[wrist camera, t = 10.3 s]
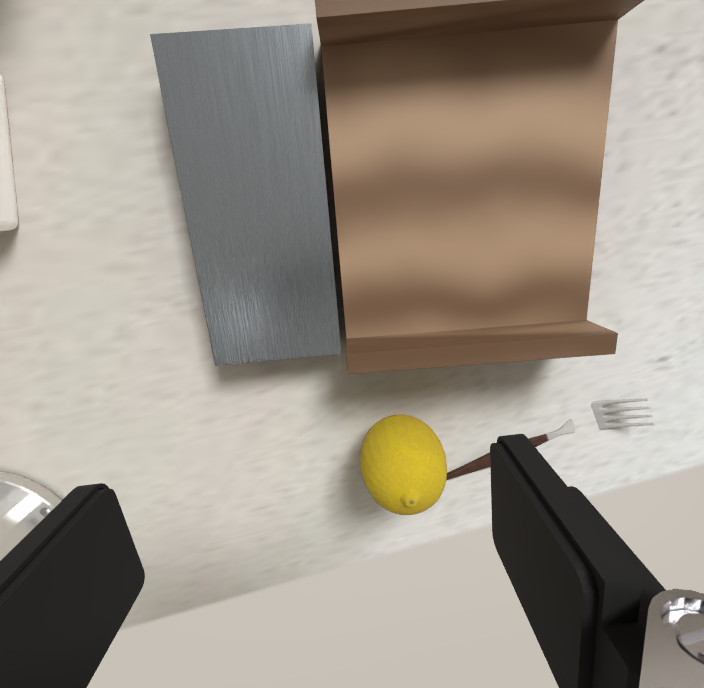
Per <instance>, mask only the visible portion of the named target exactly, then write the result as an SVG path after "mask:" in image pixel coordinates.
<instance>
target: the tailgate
mask: <svg viewBox="0 0 704 688" xmlns="http://www.w3.org/2000/svg"><path fill="white" fill-rule="evenodd" d="M150 36H151V41H152V46H153V51H154V57H155V62H156V67H157V72H158V77H159V82H160V87H161V92H162V97H163V102H164V107H165V112H166V118H167V123H168V128H169V133H170V138H171V143H172V148H173V153H174V158H175V163H176V168H177V174H178V179H179V184H180V189H181V194H182V199H183V204H184V209H185V214H186V219H187V224H188V229H189V235H190V240H191V245H192V250H193V255H194V260H195V265H196V270H197V275H198V280H199V285H200V291H201V296H202V301H203V306H204V311H205V316H206V321H207V326H208V331H209V336H210V341H211V346H212V352H213V357H214V362H215V366H218V365H228V364H239V363H250V362H261V361H271V360H282V359H293V358H303V357H314V356H325V355H336V354H341V343H340V332H339V321H338V310H337V299H336V288H335V277H334V266H333V256H332V245H331V234H330V223H329V212H328V201H327V190H326V179H325V168H324V157H323V146H322V135H321V125H320V114H319V103H318V92H317V81H316V70H315V59H314V48H313V37H312V26H311V24H299V25H284V26H269V27H254V28H238V29H223V30H208V31H193V32H178V33H163V34H150Z"/></svg>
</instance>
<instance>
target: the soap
mask: <svg viewBox="0 0 704 688" xmlns="http://www.w3.org/2000/svg"><path fill="white" fill-rule="evenodd" d="M17 226H18V210H17V201H16V191H15V181H14V172H13V163H12V153H11V142H10V134H9V124H8V114H7V104H6V95H5V85H4V81H3V78H2V76H1V75H0V231H8V230H13V229H15V228H16V227H17Z"/></svg>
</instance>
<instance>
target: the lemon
mask: <svg viewBox="0 0 704 688" xmlns="http://www.w3.org/2000/svg"><path fill="white" fill-rule="evenodd" d="M361 471H362V475H363V478H364V482H365V484H366V487H367V489H368V490H369V492H370V493H371V495H372V497H373V498H374V499H375V501H376V502H377V503H379V504H380V505H381V506H382V507H383V508H385V509H387V510H389V511H390V512H393V513H396V514H400V515H413V514H418V513H421V512H423V511H425V510H427V509H428V508H430V507H431V506H433V505H434V504H435V502H436V501H437V500H438V499H439V498H440V496H441V494H442V492H443V490H444V487H445V483H446V478H447V465H446V456H445V453H444V450H443V447H442V445H441V442H440V440H439V438H438V437H437V436H436V434H435V433H434V432H433V430H432V429H431V428H430V427H429V426H428V425H426V424H425V423H424V422H423V421H421V420H419V419H417V418H414V417H412V416H407V415H393V416H389V417H386V418H384V419H382V420H380V421H379V422H377V423H376V424H375V425H374V426H373V427H372V428H371V429H370V430H369V432H368V433H367V435H366V437H365V439H364V442H363V445H362V449H361Z"/></svg>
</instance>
